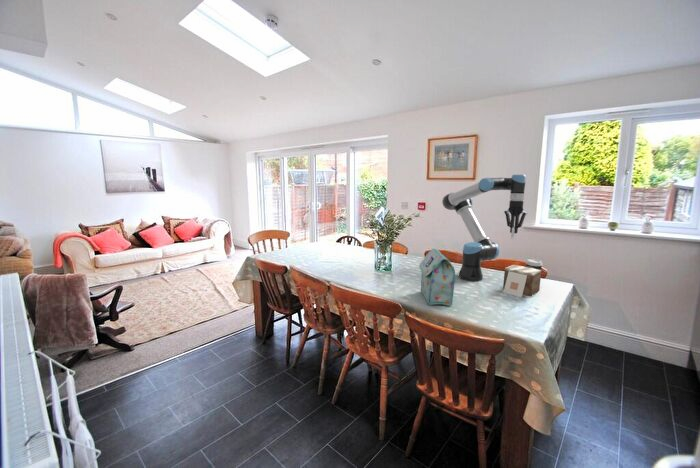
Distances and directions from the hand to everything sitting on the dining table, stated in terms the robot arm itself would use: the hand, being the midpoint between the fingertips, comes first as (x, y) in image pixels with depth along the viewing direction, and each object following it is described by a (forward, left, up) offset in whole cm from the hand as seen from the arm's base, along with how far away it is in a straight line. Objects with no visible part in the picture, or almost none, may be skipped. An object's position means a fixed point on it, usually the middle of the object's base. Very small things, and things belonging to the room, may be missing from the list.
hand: (513, 238), depth 198 cm
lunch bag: (-16, -57, -30) cm, 66 cm away
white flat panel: (+10, -16, -24) cm, 30 cm away
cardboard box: (+10, -7, -29) cm, 32 cm away
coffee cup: (+10, +10, -30) cm, 33 cm away
